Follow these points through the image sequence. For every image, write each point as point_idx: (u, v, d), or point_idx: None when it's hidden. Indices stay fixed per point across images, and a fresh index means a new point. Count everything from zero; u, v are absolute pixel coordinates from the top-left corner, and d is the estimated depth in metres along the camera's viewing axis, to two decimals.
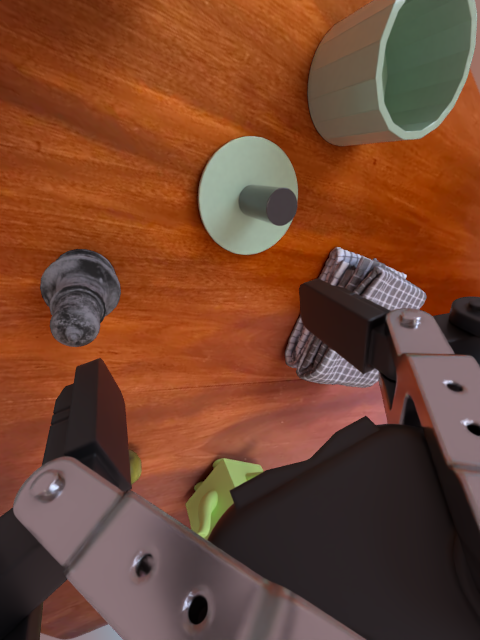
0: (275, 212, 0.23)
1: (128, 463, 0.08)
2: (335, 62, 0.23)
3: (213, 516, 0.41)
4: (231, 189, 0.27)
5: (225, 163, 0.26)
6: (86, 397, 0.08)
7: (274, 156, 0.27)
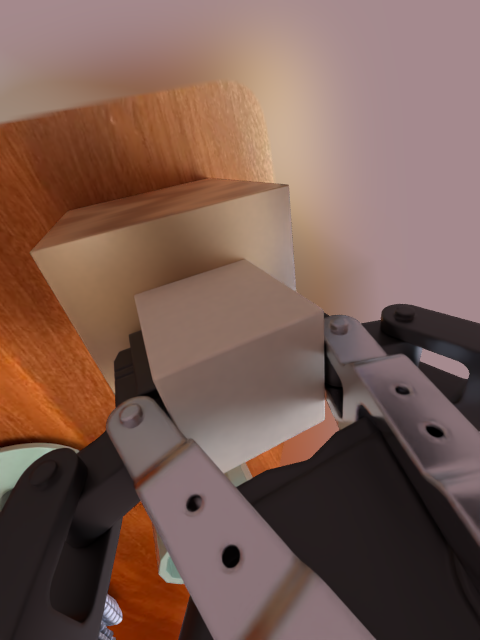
0: None
1: None
2: None
3: None
4: (10, 479, 0.21)
5: (27, 459, 0.21)
6: (145, 356, 0.09)
7: None
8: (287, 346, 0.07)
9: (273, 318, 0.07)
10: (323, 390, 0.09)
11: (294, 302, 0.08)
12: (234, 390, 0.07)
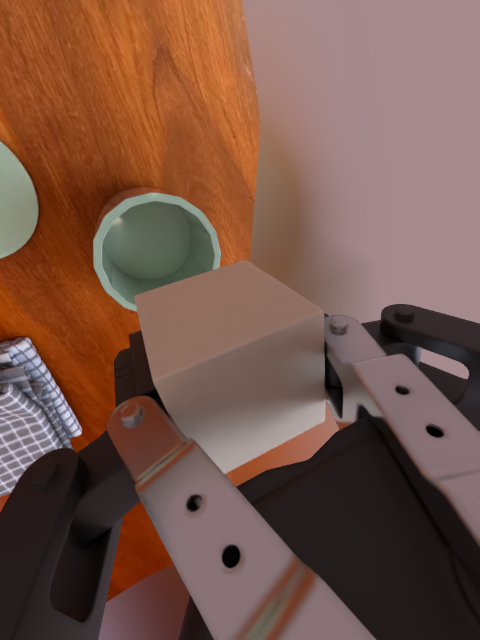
0: None
1: None
2: None
3: None
4: None
5: None
6: (145, 356, 0.09)
7: (22, 193, 0.23)
8: (287, 347, 0.07)
9: (274, 320, 0.07)
10: (323, 390, 0.09)
11: (294, 303, 0.08)
12: (234, 391, 0.07)
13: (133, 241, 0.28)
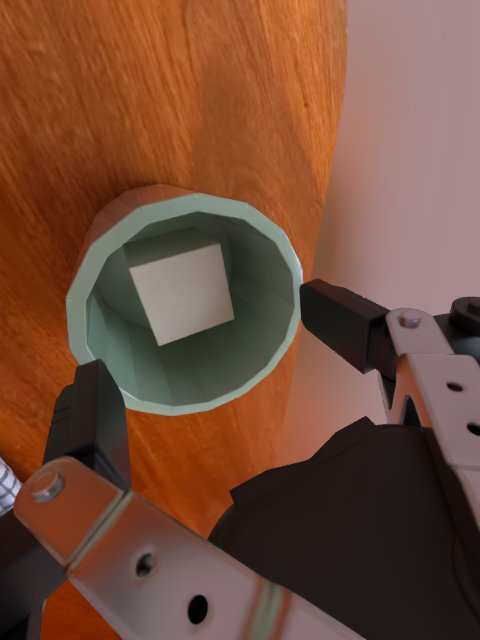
0: None
1: (128, 463, 0.08)
2: None
3: None
4: None
5: None
6: (86, 397, 0.08)
7: None
8: (201, 262, 0.14)
9: (194, 247, 0.14)
10: (229, 296, 0.15)
11: (207, 241, 0.14)
12: (172, 284, 0.14)
13: None
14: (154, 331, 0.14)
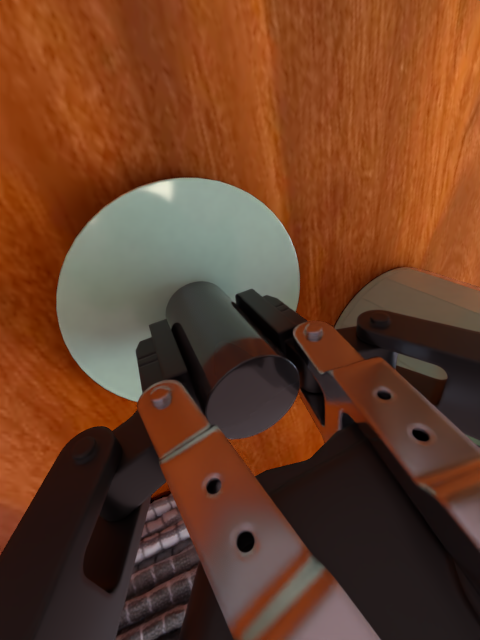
0: (235, 396, 0.07)
1: None
2: (431, 298, 0.15)
3: None
4: (192, 259, 0.12)
5: (228, 218, 0.11)
6: (167, 344, 0.09)
7: (284, 299, 0.14)
8: None
9: None
10: None
11: None
12: None
13: None
14: None
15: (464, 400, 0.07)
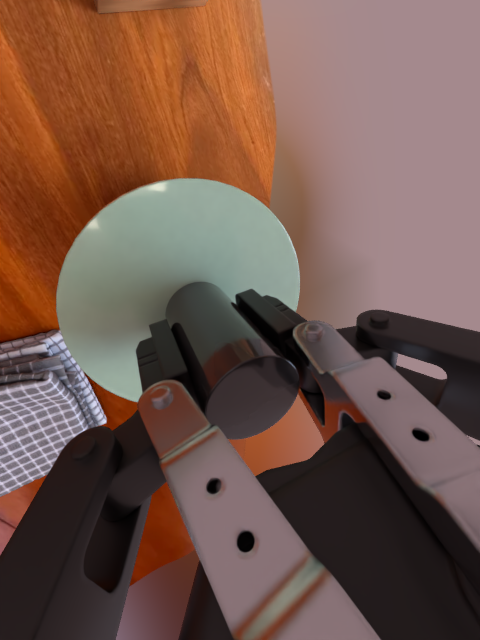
0: (235, 396, 0.07)
1: None
2: None
3: None
4: (192, 259, 0.12)
5: (228, 218, 0.11)
6: (167, 344, 0.09)
7: (284, 300, 0.14)
8: None
9: None
10: None
11: None
12: None
13: None
14: None
15: (464, 400, 0.07)
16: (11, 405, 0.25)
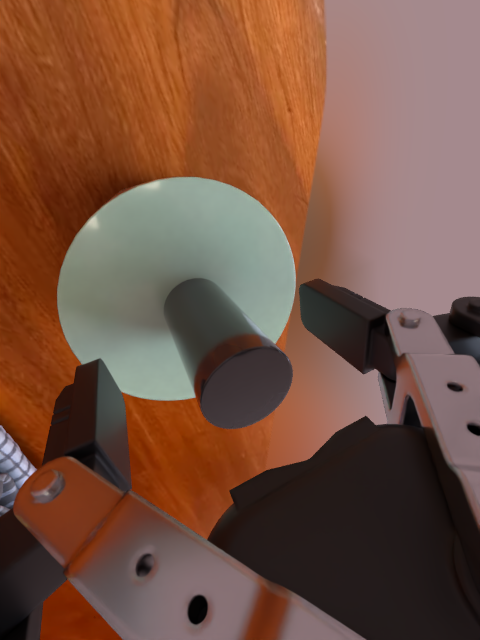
0: (230, 387, 0.08)
1: (128, 463, 0.08)
2: None
3: None
4: (190, 256, 0.12)
5: (224, 216, 0.12)
6: (86, 397, 0.08)
7: (280, 296, 0.15)
8: None
9: None
10: None
11: None
12: None
13: None
14: None
15: None
16: None
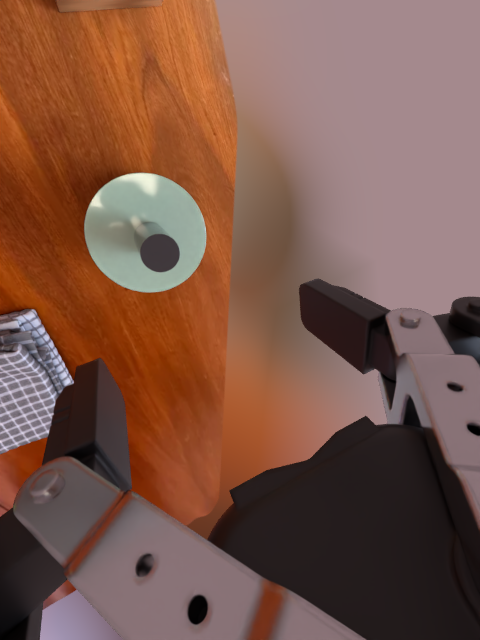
0: (151, 249, 0.21)
1: (128, 463, 0.08)
2: None
3: None
4: (145, 210, 0.25)
5: (161, 191, 0.25)
6: (86, 397, 0.08)
7: (197, 236, 0.28)
8: None
9: None
10: None
11: None
12: None
13: None
14: None
15: None
16: None
